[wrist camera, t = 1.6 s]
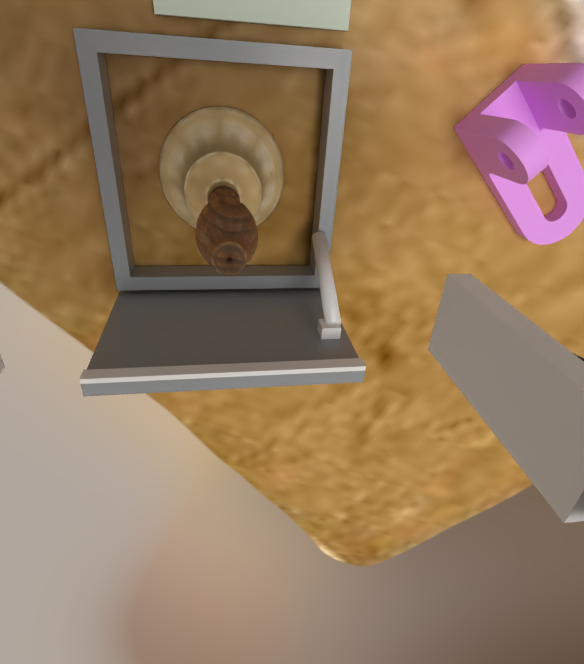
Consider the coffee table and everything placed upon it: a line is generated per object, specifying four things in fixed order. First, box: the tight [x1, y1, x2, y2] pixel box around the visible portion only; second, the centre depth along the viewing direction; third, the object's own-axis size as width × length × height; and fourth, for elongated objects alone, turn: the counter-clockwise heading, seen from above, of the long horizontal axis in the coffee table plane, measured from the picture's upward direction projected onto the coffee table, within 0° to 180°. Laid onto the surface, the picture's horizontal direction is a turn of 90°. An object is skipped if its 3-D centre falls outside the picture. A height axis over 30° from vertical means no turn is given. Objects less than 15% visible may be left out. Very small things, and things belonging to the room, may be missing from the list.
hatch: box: [73, 28, 366, 396], centre depth 24 cm, size 16×15×12 cm
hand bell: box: [159, 106, 284, 275], centre depth 22 cm, size 8×8×16 cm
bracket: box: [453, 63, 584, 245], centre depth 29 cm, size 13×6×7 cm, turn 42°
